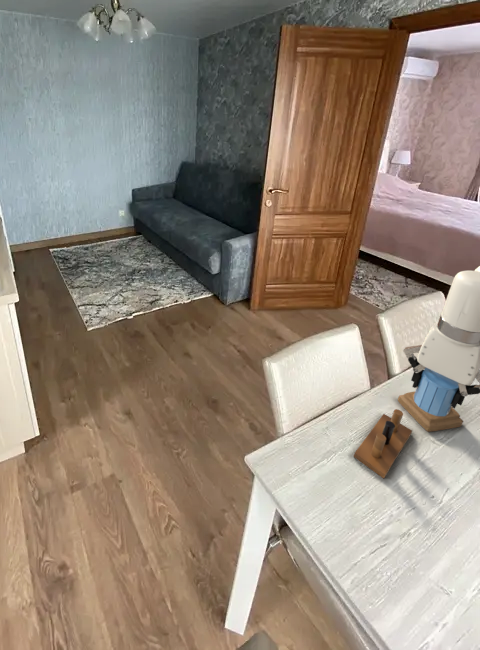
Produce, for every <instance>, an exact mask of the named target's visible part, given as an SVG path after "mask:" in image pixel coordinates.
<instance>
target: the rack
mask: <svg viewBox="0 0 480 650" xmlns="http://www.w3.org/2000/svg"><path fill="white" fill-rule="evenodd" d="M403 416H404V413H403V411H402V410H401V409H398V408H396V409H394V410H393V412H392V416H391V417H390V416H389V415H387V414H386V413H383V414H382V415H381V417H380V418H379V419H378V421H377V422H376V423H375V425H374V426H373V428H372V429H371V430H370V431H369V433H368V434H367V435H366V437H365V438H364V439H363V441H362V442H361V444H360V445H359V446H358V448H357V449H356V450H355V452H354V454H353V458H354V459H356V460H357V461H358V462H360V463H361V464H363V465H364V466H365V467H366V468H368V469H369V470H371V471H372V472H373V473H375V474H377V475H378V476H379V477H380V478H382V479H385V478H386V477H387V475H388V473H389V471H390V470H391V468H392V466H393V465H394V463H395V462H396V460H397V458H398V457H399V455H400V453H401V451H402V450H403V448H404V447H405V445H406V444H407V443H408V440H409V438H410V437H411V435H412V433H413V430H412V429H410V428H409V427H407V426H406V425H404V424H402V423H401V421H402V419H403Z"/></svg>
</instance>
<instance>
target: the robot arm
mask: <svg viewBox="0 0 480 650" xmlns="http://www.w3.org/2000/svg"><path fill="white" fill-rule="evenodd" d="M402 351H403V353H404V355H405V357H406V358H407V361H408V363H409V364H410V366H411V368H412V371H413V373H412V376H411V379H410V381H411V382H413V383H412V386H411V387H412V388H413V389H417V386H418V383H419V380H420V378H421V375H422V372H423V371H424V369H425V368H428V369H430V370H433V371H435V372H437V373H439V374H441V375H443V376H445V377H447V378H450V379H452V380H454V381H456V382H458V386H459V390H458V391H457V393H456V396H455V398H454V400H453V403H452V405H451V406H452V408H453V409H455V410H456V407H457V405H459V406H462V405H463V403H464V400H465V398H466V397H468V396H472V395H479V394H480V265H479V266H478V267H476V268H475V269H474V270H461V271H459V272H457V273H456V274H455V275H454V277H453V279H452V282H451V285H450V288H449V290H448V294H447V296H446V299H445V302H444V305H443V307H442V311H441V314H440V315H439V318H438V321H437V322H434V323H433V324H432V326H431V327H430V328H429V330H428V331H427V334H426V336H425V338H424V340H423V342H422V344H418V345H411V346H406V347H404V349H403V350H402ZM415 354H417V356H415ZM475 380H476V381H477V382H478V383H479V384H473V383H474V382H475Z"/></svg>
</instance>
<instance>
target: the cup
mask: <svg viewBox="0 0 480 650" xmlns="http://www.w3.org/2000/svg"><path fill="white" fill-rule="evenodd" d="M458 390H459V386H458V382H456V381H454V380H452V379H450V378H447V377H445V376H443V375H441V374H439V373H437V372H435V371H433V370H430V369H428V368H425V369H424V371H423V372H422V375H421V378H420V380H419V383H418V386H417V387H416V388H415V391H414V392H415V394H414V402H415V403H416V404H417V405H418V407H420V408H421V409H422V410H424V411H425V412H428V413H429V414H432V415H435V416H446V415H447V414H448V413H449V411H450V409H451V407H452V406H451V405H452V403H453V400H454V398H455V396H456V393H457V391H458Z"/></svg>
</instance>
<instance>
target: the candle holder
mask: <svg viewBox="0 0 480 650" xmlns="http://www.w3.org/2000/svg"><path fill="white" fill-rule="evenodd" d="M414 394H415V391H410V392H406V393H404V394H400V395H399V396H398V398H397V402H398V403H399V404H400V406H402V407H403V409H404V410H405V411H406V412H407V413H408V414H409V415H410V416H411V417H412V418H413V419H414V420H415V421H416V422H417V423H418V424H419V425H420V426H421V427H422V428H423V429H424V430H425V431H426V432H429V433H431V432H437V431H445V430H449V429H456V428H460V427H462V426H463V423H464V420H463V419H462V418H461V415H460V413H459V412H458V411H457V410H456V408H455V409H454V408H452V407H451V409H450V411H449V413H448V414H447V415H446V416H435V415H432V414H429V413H428V412H425V411H424V410H422V409H421V408H420V407H418V405H417V404H416V403H415V402H414Z"/></svg>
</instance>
